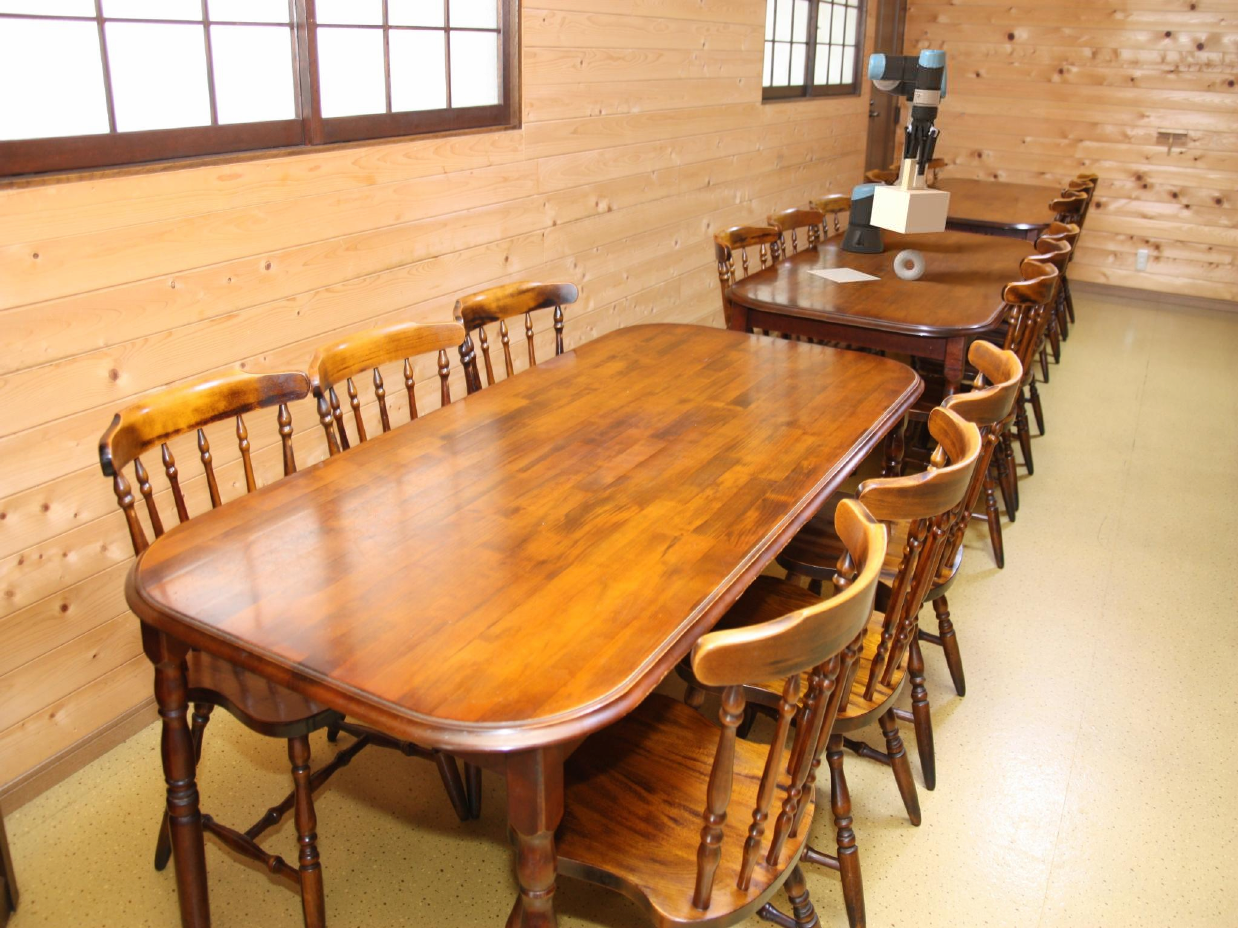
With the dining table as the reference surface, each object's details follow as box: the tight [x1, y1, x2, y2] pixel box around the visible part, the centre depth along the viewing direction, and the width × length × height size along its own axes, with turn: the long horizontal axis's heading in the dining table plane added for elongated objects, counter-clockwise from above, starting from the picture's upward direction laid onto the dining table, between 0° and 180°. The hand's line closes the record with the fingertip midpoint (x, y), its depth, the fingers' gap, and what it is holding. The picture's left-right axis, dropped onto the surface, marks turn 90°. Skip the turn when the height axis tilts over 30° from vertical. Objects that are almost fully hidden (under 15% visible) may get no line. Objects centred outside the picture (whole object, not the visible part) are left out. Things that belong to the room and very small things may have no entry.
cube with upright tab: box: [870, 159, 951, 235], centre depth 319 cm, size 16×16×21 cm
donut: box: [893, 248, 926, 281], centre depth 327 cm, size 10×4×10 cm, turn 58°
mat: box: [806, 267, 881, 284], centre depth 330 cm, size 17×17×1 cm
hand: (913, 185), depth 318 cm, fingers closed on cube with upright tab, 2 cm apart
